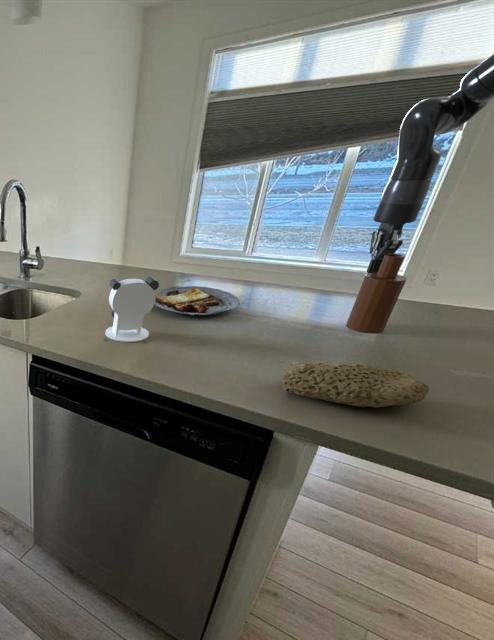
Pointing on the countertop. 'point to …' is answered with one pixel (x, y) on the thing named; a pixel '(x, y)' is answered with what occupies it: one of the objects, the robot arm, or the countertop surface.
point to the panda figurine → (130, 308)
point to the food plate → (195, 300)
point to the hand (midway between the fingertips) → (372, 273)
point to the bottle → (377, 296)
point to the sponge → (354, 384)
